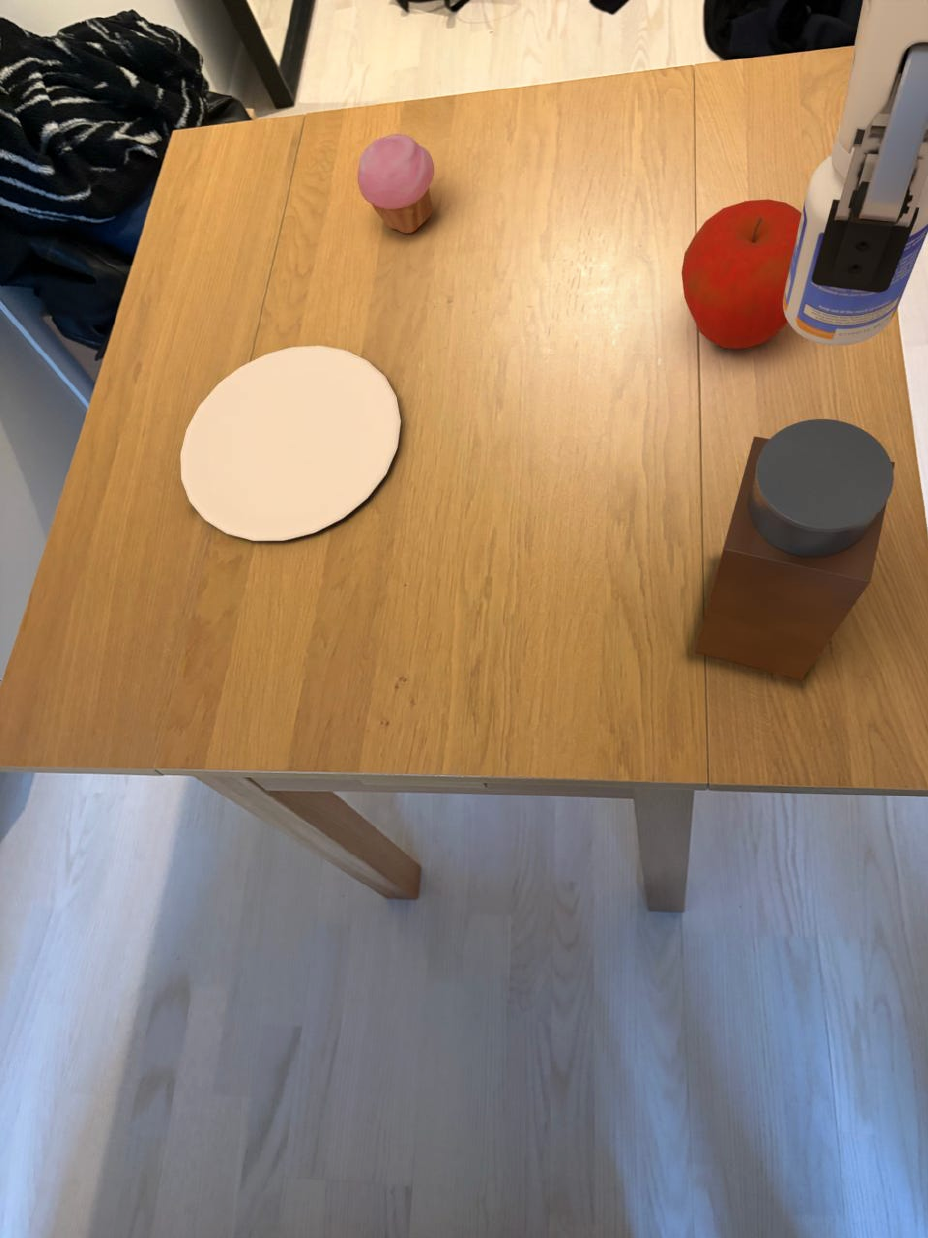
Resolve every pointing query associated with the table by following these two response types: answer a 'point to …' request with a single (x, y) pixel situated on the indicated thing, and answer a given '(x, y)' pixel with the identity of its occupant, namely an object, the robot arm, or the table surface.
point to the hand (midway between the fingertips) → (863, 228)
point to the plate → (290, 443)
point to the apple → (741, 272)
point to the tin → (819, 487)
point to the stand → (780, 593)
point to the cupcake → (397, 181)
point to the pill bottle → (838, 309)
